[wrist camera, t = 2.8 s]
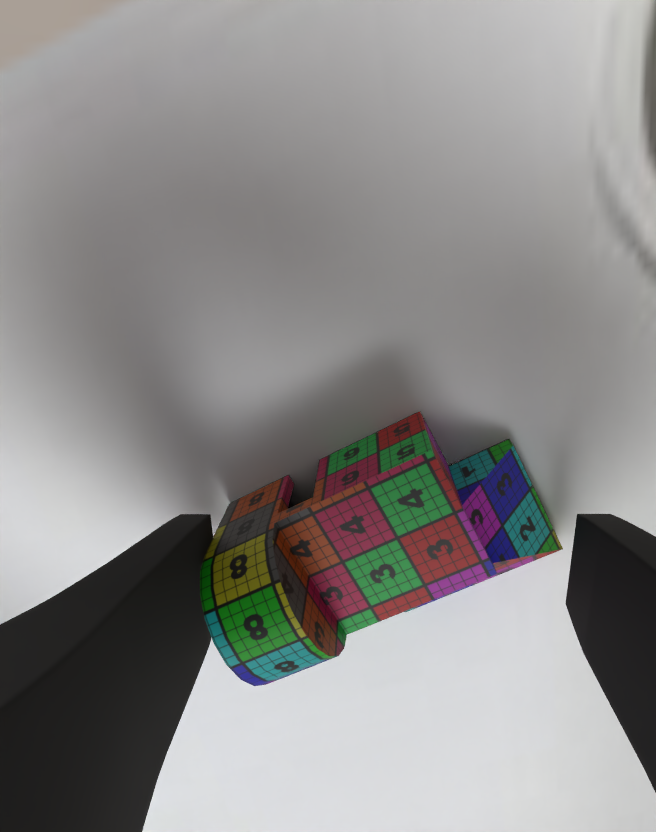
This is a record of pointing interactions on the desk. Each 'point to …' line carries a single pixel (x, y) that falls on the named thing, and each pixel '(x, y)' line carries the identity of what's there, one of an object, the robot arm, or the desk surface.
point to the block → (363, 547)
